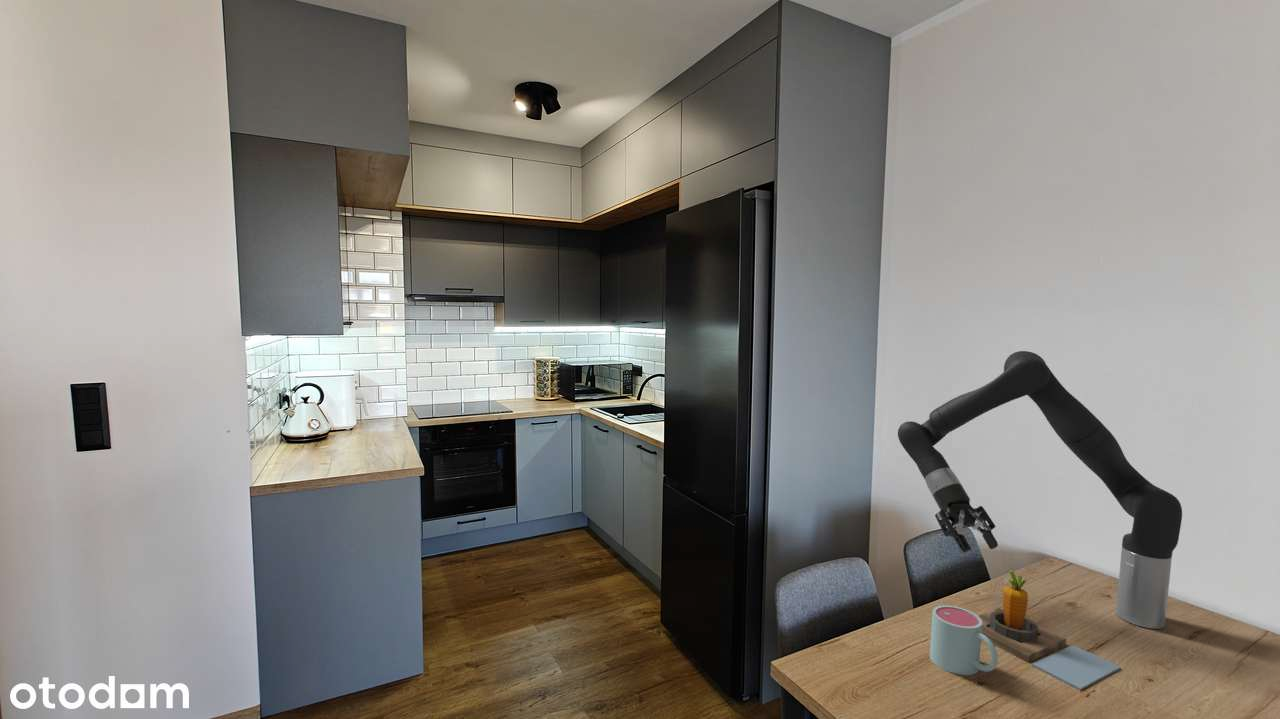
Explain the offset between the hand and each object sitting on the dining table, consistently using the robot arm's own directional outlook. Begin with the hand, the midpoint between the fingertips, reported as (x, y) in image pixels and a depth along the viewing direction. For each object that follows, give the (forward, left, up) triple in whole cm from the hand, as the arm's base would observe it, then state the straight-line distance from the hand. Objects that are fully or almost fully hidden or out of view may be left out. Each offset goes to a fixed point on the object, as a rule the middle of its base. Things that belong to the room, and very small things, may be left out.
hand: (981, 549), depth 142 cm
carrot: (+2, +10, -17) cm, 19 cm away
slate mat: (+2, +23, -17) cm, 28 cm away
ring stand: (+2, +10, -17) cm, 19 cm away
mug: (+24, +12, -17) cm, 32 cm away
